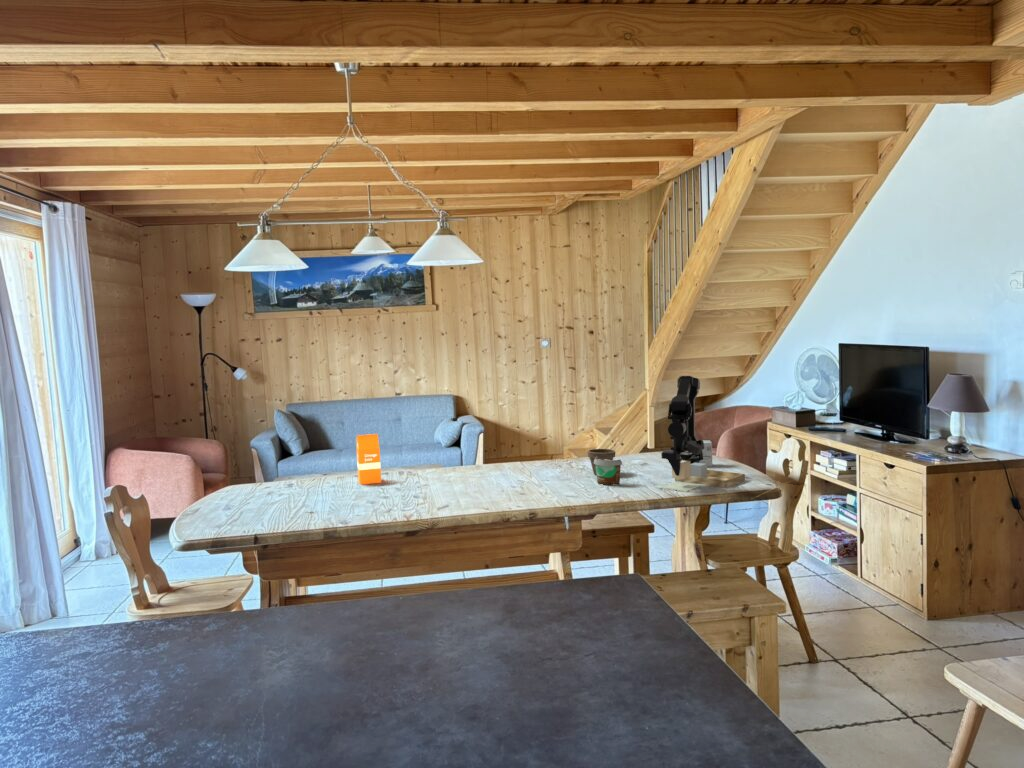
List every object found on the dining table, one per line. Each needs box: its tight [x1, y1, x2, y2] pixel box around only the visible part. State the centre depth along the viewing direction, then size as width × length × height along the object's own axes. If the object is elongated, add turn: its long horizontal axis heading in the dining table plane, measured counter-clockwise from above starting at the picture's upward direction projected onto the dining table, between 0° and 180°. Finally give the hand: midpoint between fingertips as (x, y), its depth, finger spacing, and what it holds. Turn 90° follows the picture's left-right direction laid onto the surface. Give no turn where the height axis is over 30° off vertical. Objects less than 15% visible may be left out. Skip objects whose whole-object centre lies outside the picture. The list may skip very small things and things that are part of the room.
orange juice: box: [356, 433, 382, 485], centre depth 319 cm, size 8×9×20 cm
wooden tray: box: [674, 469, 746, 489], centre depth 296 cm, size 22×16×3 cm
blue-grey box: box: [690, 463, 708, 478], centre depth 299 cm, size 5×5×6 cm
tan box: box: [671, 460, 691, 479], centre depth 287 cm, size 5×5×6 cm
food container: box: [594, 457, 623, 486], centre depth 298 cm, size 12×6×10 cm, turn 47°
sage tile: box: [660, 481, 702, 493], centre depth 288 cm, size 11×11×1 cm
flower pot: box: [587, 448, 616, 476], centre depth 318 cm, size 12×11×10 cm
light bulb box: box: [698, 439, 713, 468], centre depth 328 cm, size 11×7×11 cm, turn 84°
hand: (681, 474), depth 287 cm, fingers closed on tan box, 5 cm apart
